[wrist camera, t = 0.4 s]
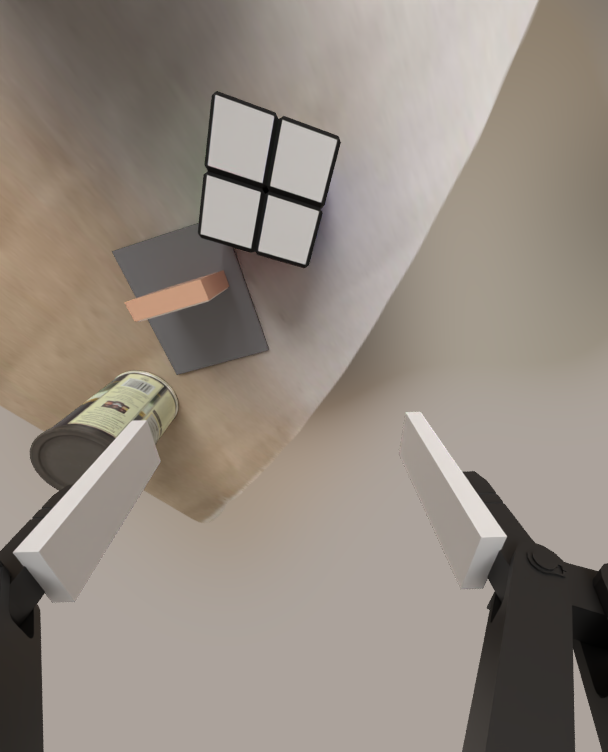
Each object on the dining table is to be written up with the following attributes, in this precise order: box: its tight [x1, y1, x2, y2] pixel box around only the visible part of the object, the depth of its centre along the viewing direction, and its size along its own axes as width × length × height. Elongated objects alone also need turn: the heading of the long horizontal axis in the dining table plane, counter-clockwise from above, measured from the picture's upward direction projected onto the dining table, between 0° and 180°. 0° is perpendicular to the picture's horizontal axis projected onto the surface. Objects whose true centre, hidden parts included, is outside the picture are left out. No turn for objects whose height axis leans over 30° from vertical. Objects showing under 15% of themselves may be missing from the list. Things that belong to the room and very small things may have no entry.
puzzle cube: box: [198, 91, 341, 268], centre depth 27 cm, size 10×10×10 cm
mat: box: [112, 223, 269, 375], centre depth 37 cm, size 17×14×1 cm
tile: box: [124, 270, 229, 322], centre depth 32 cm, size 2×8×9 cm, turn 106°
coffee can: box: [30, 371, 178, 491], centre depth 37 cm, size 10×10×14 cm
